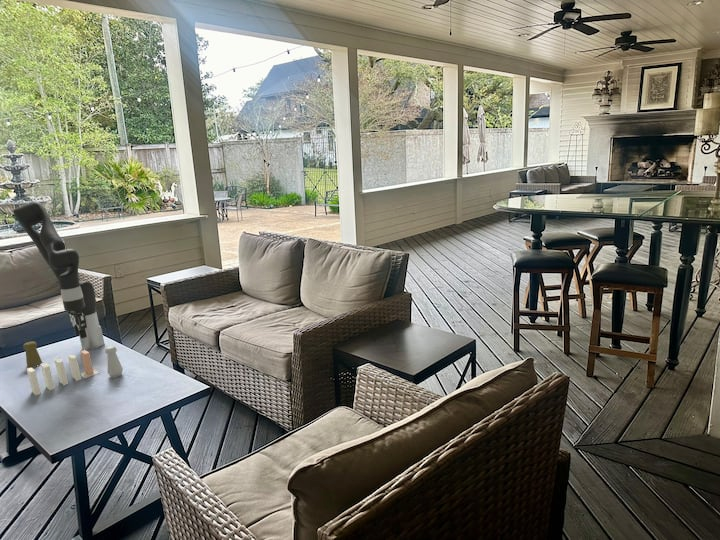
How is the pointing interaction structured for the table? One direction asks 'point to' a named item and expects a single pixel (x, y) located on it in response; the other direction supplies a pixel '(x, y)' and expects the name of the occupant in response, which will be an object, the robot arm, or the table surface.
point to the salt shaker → (113, 362)
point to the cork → (32, 354)
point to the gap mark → (88, 375)
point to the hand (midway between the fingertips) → (81, 335)
